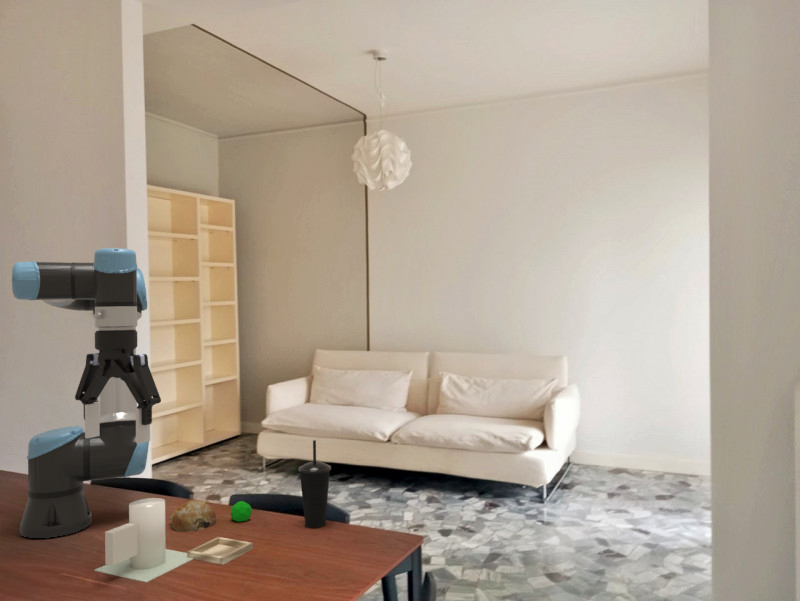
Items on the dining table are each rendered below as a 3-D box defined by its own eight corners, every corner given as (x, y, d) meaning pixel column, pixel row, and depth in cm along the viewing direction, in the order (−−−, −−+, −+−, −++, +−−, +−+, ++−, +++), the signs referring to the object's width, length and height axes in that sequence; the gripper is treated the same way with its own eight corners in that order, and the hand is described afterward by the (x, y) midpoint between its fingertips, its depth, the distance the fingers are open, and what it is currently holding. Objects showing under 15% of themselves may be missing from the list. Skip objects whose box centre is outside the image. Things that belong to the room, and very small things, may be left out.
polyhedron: (227, 521, 156) (227, 501, 156) (245, 517, 160) (245, 497, 160) (236, 526, 152) (236, 506, 153) (255, 522, 156) (255, 502, 156)
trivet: (94, 573, 126) (94, 569, 126) (149, 548, 139) (149, 545, 139) (146, 585, 120) (146, 581, 120) (199, 558, 133) (199, 555, 133)
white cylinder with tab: (148, 554, 134) (147, 496, 134) (173, 559, 131) (172, 500, 132) (96, 577, 123) (96, 514, 123) (122, 583, 120) (121, 518, 120)
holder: (187, 560, 132) (187, 551, 132) (218, 544, 141) (218, 536, 141) (223, 567, 128) (223, 558, 128) (253, 550, 137) (252, 542, 137)
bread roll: (184, 551, 147) (194, 522, 145) (157, 525, 152) (167, 496, 150) (217, 538, 156) (227, 510, 154) (191, 513, 161) (200, 486, 159)
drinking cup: (325, 531, 148) (324, 444, 149) (294, 529, 150) (293, 443, 150) (335, 520, 156) (334, 437, 156) (305, 518, 157) (304, 436, 158)
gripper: (54, 329, 126) (55, 438, 125) (148, 329, 115) (150, 448, 115) (87, 328, 133) (88, 431, 132) (179, 328, 122) (180, 440, 122)
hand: (117, 439), depth 124 cm, fingers open, 13 cm apart
